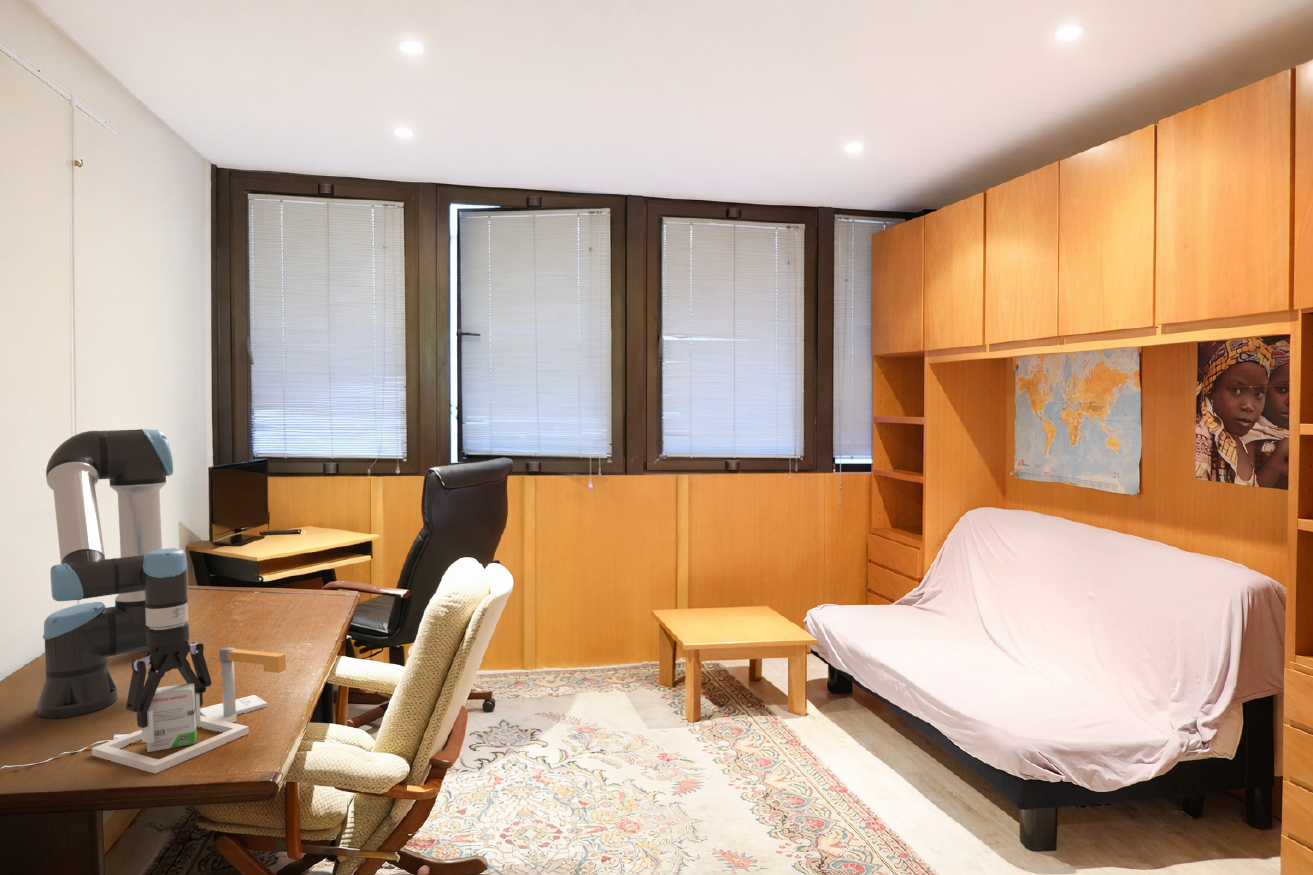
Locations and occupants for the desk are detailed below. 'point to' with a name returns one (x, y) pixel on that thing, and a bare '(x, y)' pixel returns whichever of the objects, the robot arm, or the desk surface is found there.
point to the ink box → (173, 717)
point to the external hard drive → (241, 706)
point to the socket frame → (216, 724)
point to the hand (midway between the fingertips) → (172, 732)
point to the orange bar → (255, 658)
